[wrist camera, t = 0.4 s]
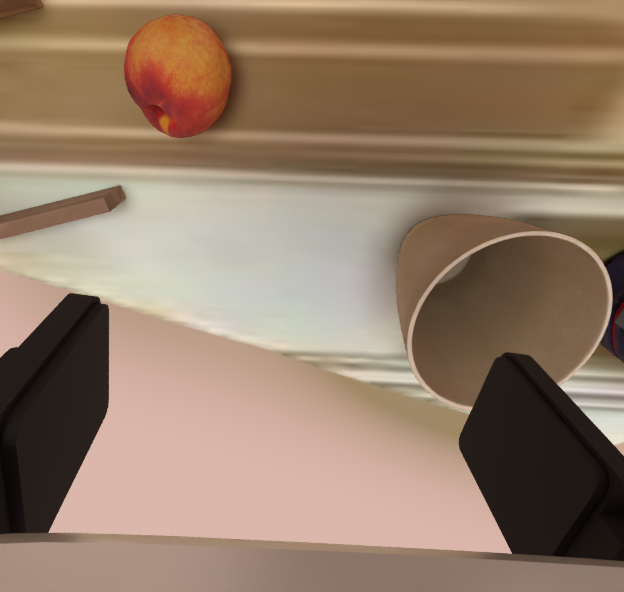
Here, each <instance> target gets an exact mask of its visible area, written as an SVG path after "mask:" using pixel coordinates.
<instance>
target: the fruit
mask: <svg viewBox="0 0 624 592" xmlns="http://www.w3.org/2000/svg"><path fill="white" fill-rule="evenodd" d="M124 72H125V81H126V85H127V88H128V91H129V94H130V95H131V97H132V98H133V100H134V101H135V103H136V104H137V105H138V106H139V107H140V108H141V109H142V111H143V113H144V115H145V117H146V118H147V119H148V121H149V122H150V123H151V124H152V125H153V126H154V127H155V128H156V129H157V130H159V131H160V132H162V133H165V134H167V135H169V136H171V137H177V138H184V137H191V136H194V135H197V134H200V133H202V132H204V131H205V130H206V129H208V128H209V127H210V126H211V125H212V124H213V123H214V122H215V121H216V120H217V119H218V118H219V117H220V115H221V113H222V111H223V109H224V107H225V104H226V102H227V99H228V94H229V88H230V84H231V79H232V77H231V64H230V61H229V58H228V55H227V52H226V50H225V48H224V46H223V44H222V42H221V41H220V39H219V38H218V36H217V35H216V33H215V32H214V31H213V30H212V29H211V28H210V27H209V26H208V25H207V24H205V23H204V22H202V21H200V20H198V19H196V18H194V17H188V16H183V15H168V16H165V17H162V18H159V19H156V20H152V21H150V22H148V23H147V24H146V25H144V26H143V27H142V28H141V29H140V30H139V31H138V32H137V33H136V34H135V35H134V36H133V37H132V38H131V40H130V41H129V44H128V47H127V51H126V57H125V63H124Z"/></svg>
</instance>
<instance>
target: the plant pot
mask: <svg viewBox="0 0 624 592" xmlns="http://www.w3.org/2000/svg"><path fill="white" fill-rule="evenodd" d="M396 293H397V306H398V314H399V320H400V325H401V330H402V335H403V339H404V343H405V348H406V352H407V356H408V360H409V363H410V367H411V369H412V372H413V373H414V375H415V377H416V379H417V380H418V382H419V383H420V384H421V386H422V387H423V388H424V389H425V390H426V391H427V392H428V393H429V394H431V395H432V396H433V397H435V398H436V399H438V400H440V401H441V402H444V403H446V404H448V405H450V406H453V407H457V408H460V409H465V410H472V408H473V406H474V403H475V401H476V399H477V397H478V395H479V392H480V390H481V388H482V386H483V384H484V381H485V379H486V377H487V375H488V373H489V370H490V368H491V366H492V364H493V362H494V360H495V359H496V358H497V357H501V355H502V354H503V353H506V352H511V353H518V354H526V355H530V356H531V357H532V358H533V359H534V360H535V361H536V362H537V363H538V364H539V365H540V366H541V367H542V368H543V370H544V371H545V372H546V373H547V374H548V375H549V376H550V377H551V378H552V379H553V380H554V381H555V382H556V384H557V385H558V386H560V385H561V384H562V383H564V382H565V381H566V380H568V379H569V378H570V377H571V376H572V375H574V374H575V373H576V372H577V371H578V370H579V369H580V368H581V367H582V366H583V365H584V364H585V362H586V361H587V360H588V359H589V358H590V356H591V355H592V353H593V352H594V351H595V349H596V348H597V346H598V344H599V343H600V341H601V339H602V337H603V335H604V333H605V331H606V328H607V325H608V322H609V319H610V315H611V310H612V300H613V294H612V286H611V281H610V278H609V275H608V272H607V269H606V268H605V266H604V264H603V262H602V261H601V259H600V258H599V257H598V255H597V254H596V253H595V252H594V251H593V250H592V249H591V248H589V247H588V246H587V245H585V244H584V243H582V242H580V241H578V240H577V239H574V238H572V237H569V236H567V235H564V234H560V233H557V232H554V231H551V230H547V229H544V228H540V227H537V226H533V225H530V224H526V223H522V222H518V221H514V220H509V219H504V218H499V217H492V216H483V215H470V214H456V215H444V216H437V217H432V218H429V219H426V220H424V221H422V222H420V223H419V224H417V225H416V226H415V227H413V228H412V229H411V230H410V232H409V233H408V234H407V235H406V237H405V239H404V241H403V243H402V246H401V249H400V253H399V258H398V264H397V275H396Z"/></svg>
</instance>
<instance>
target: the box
mask: <svg viewBox="0 0 624 592" xmlns="http://www.w3.org/2000/svg"><path fill="white" fill-rule="evenodd" d="M41 7H43V5H42V2H41V0H0V18H4V17H8V16H11V15H15V14H19V13H23V12H26V11H30V10H34V9H37V8H41ZM125 198H126V197H125V195H124V192H123V190H122V188H121V185H120V186H116V187H112V188H108V189H104V190H100V191H96V192H92V193H88V194H84V195H80V196H77V197H73V198H69V199H65V200H61V201H57V202H53V203H49V204H45V205H41V206H37V207H33V208H29V209H25V210H21V211H17V212H13V213H10V214H6V215H2V216H0V239H3V238H6V237H10V236H14V235H18V234H22V233H26V232H30V231H34V230H38V229H42V228H46V227H50V226H54V225H58V224H62V223H66V222H70V221H74V220H78V219H82V218H86V217H90V216H94V215H98V214H102V213H106V212H110V211H111V210H112V209H113V208H115V207H116V206H117V205H118V204H119V203H121V202H122V201H123V200H124V199H125Z"/></svg>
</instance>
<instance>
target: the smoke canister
mask: <svg viewBox="0 0 624 592" xmlns="http://www.w3.org/2000/svg"><path fill="white" fill-rule="evenodd" d="M612 260H614V261H613V262H611V263H610V264H609V265H608V266H606V267H605V268H606V269H607V272H608V275H609V278H610V281H611V286H612V294H613V300H612V310H611V315H610V319H609V322H608V325H607V328H606V331H605V333H604V335H603V337H602V339H601V341H600V344H601V345H602V346H604V347H605V348H606V349H607V350H608V351H610V352H611V353H612V354H613V355H615V356H616V357H617V358H619V359H620V360H621V361H622V362H623V363H624V252H622V253H620V254H618V255H616V256H615V257H613V258H612Z"/></svg>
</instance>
